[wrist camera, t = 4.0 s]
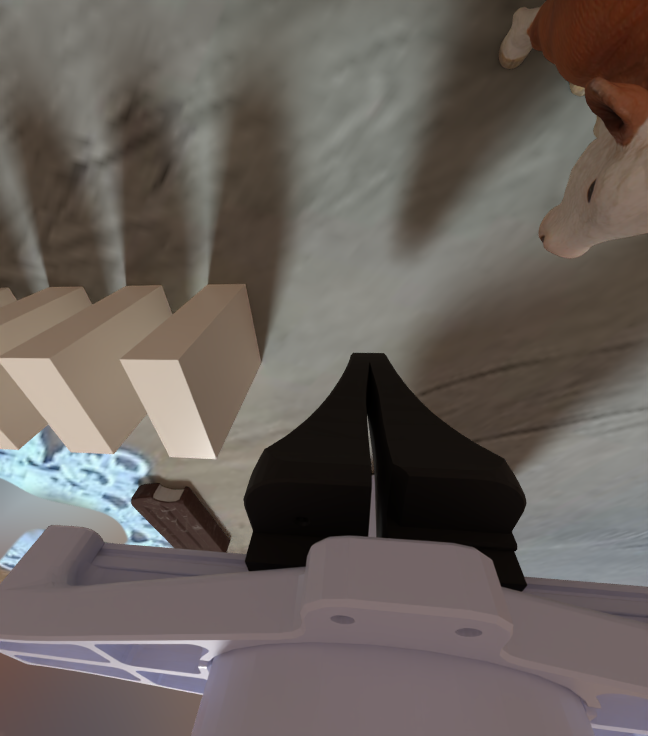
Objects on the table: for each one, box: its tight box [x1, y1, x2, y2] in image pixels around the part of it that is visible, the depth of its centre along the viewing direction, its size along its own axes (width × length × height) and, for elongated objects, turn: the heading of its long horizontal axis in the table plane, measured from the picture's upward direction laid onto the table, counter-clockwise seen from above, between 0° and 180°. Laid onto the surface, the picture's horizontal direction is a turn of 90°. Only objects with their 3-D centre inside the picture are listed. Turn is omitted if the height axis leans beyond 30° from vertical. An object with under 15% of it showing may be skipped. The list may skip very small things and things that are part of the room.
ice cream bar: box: [131, 483, 230, 552], centre depth 30 cm, size 5×2×15 cm
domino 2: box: [0, 285, 172, 454], centre depth 14 cm, size 2×5×7 cm, turn 3°
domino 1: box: [0, 287, 92, 450], centre depth 15 cm, size 2×5×7 cm, turn 3°
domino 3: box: [119, 284, 261, 459], centre depth 14 cm, size 2×5×7 cm, turn 3°
